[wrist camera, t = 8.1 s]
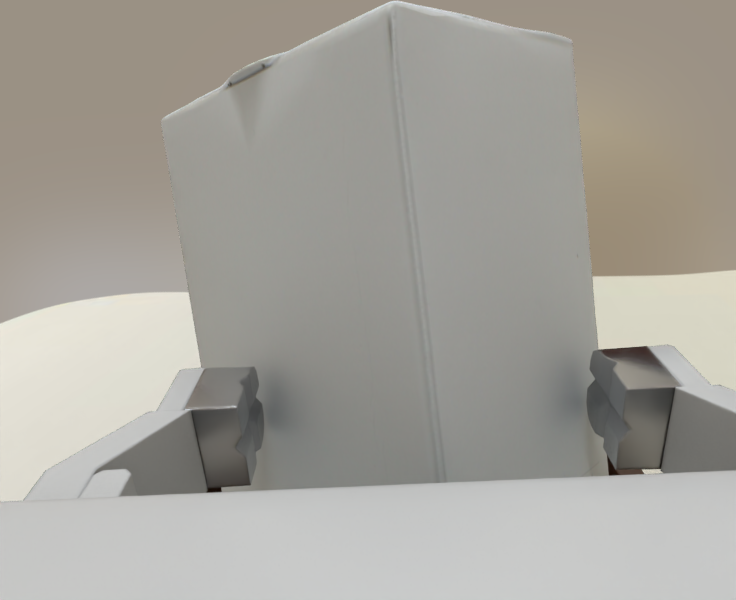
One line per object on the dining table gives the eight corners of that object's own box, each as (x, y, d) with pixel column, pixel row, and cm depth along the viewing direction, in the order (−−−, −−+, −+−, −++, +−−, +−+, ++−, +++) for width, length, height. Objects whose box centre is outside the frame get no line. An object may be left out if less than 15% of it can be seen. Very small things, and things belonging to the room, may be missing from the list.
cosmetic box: (628, 689, 14) (609, 32, 12) (474, 898, 10) (407, -32, 8) (381, 562, 20) (341, 111, 18) (223, 661, 16) (150, 96, 14)
